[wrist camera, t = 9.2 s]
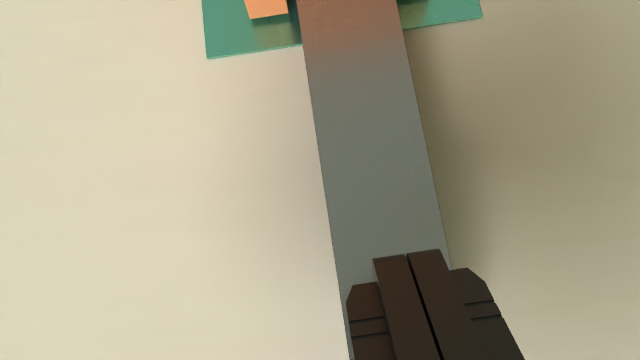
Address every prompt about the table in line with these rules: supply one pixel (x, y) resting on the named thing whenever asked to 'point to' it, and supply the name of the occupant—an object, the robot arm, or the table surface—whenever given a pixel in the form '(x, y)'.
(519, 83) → the table surface
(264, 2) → the sleeve
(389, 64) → the bar
